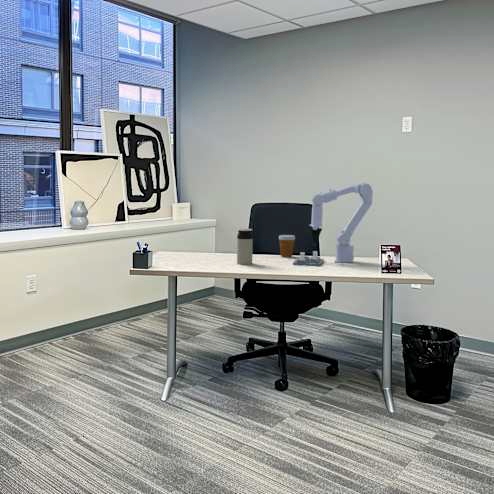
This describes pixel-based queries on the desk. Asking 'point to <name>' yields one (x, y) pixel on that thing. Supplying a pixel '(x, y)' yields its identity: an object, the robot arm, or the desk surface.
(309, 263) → the switch bank
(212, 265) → the desk surface
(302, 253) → the tab
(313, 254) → the tab
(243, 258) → the travel mug
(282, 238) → the disposable coffee cup
